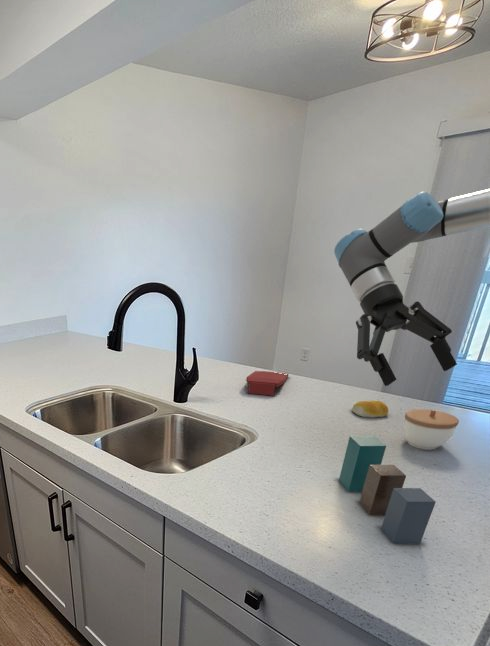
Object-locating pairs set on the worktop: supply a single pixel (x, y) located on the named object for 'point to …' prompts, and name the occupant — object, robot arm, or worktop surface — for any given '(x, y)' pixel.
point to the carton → (265, 382)
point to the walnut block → (380, 487)
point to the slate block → (407, 515)
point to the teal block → (360, 461)
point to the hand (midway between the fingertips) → (420, 375)
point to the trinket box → (428, 428)
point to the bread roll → (370, 409)
